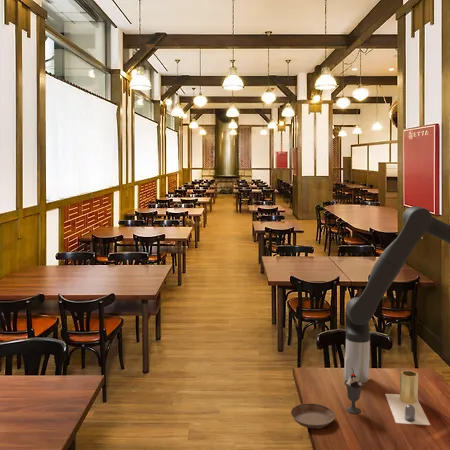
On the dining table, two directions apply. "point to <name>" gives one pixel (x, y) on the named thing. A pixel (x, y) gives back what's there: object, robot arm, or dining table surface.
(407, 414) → the post
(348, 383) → the sundae
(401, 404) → the mat
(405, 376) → the sleeve
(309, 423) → the saucer
